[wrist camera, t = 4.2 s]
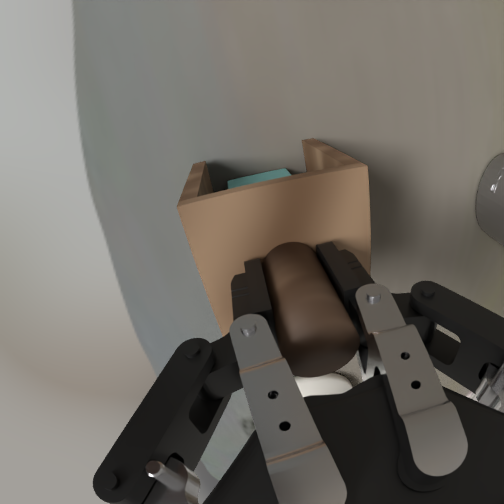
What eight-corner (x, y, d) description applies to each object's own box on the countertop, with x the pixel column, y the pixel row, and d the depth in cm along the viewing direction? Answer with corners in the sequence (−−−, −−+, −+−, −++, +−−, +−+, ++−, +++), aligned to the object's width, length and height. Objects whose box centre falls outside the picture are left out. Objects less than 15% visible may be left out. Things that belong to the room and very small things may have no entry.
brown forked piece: (313, 138, 18) (444, 213, 7) (326, 242, 22) (409, 381, 11) (193, 164, 19) (151, 281, 7) (223, 266, 22) (231, 429, 11)
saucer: (370, 384, 34) (373, 391, 33) (305, 431, 39) (306, 437, 38) (299, 360, 30) (302, 369, 28) (232, 416, 34) (232, 423, 33)
